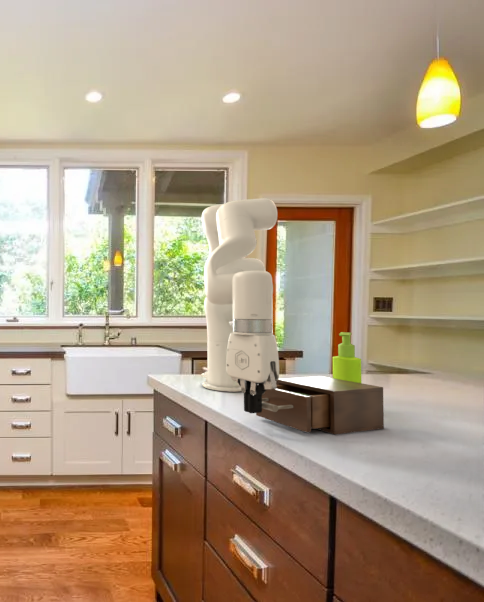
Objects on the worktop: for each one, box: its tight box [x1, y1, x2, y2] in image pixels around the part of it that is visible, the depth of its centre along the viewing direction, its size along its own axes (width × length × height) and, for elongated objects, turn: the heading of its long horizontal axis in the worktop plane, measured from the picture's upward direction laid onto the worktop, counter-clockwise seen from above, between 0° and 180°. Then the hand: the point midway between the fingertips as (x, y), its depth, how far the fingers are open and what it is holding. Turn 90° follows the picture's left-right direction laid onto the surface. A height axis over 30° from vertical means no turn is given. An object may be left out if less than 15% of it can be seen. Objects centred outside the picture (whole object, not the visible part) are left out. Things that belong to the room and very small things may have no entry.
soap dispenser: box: [331, 331, 362, 383], centre depth 98 cm, size 6×7×20 cm
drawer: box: [255, 384, 331, 433], centre depth 83 cm, size 19×12×7 cm, turn 105°
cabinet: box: [276, 375, 385, 436], centre depth 86 cm, size 15×14×9 cm
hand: (252, 411), depth 80 cm, fingers closed
